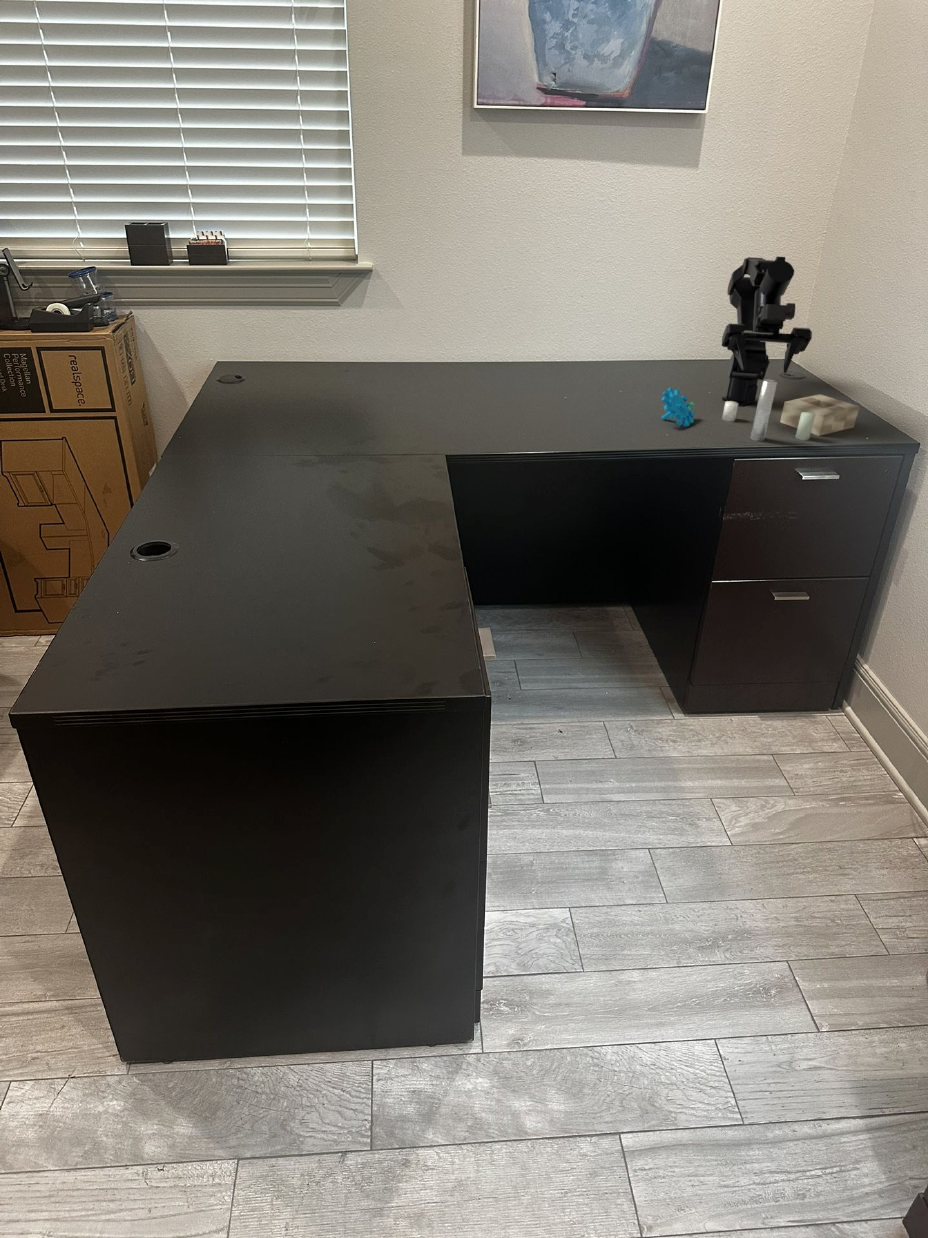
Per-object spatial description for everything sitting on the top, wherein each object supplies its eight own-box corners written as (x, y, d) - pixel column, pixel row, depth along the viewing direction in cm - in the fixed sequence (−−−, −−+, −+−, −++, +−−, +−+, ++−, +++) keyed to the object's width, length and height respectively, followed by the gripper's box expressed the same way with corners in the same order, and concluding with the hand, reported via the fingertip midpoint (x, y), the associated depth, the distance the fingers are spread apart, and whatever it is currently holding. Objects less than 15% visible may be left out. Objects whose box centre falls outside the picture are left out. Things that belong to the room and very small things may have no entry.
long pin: (747, 437, 189) (759, 380, 182) (756, 435, 190) (769, 378, 183) (758, 441, 186) (770, 383, 180) (767, 439, 188) (780, 382, 181)
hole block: (779, 422, 199) (784, 401, 196) (814, 414, 205) (819, 394, 203) (818, 435, 191) (824, 414, 189) (853, 427, 197) (859, 406, 195)
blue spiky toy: (677, 425, 190) (660, 386, 191) (658, 438, 194) (641, 400, 196) (705, 422, 197) (688, 385, 198) (686, 435, 201) (670, 398, 203)
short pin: (719, 418, 200) (722, 402, 198) (728, 416, 202) (731, 400, 200) (729, 422, 198) (732, 405, 196) (737, 420, 200) (741, 403, 197)
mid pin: (792, 436, 190) (798, 413, 187) (801, 434, 192) (807, 411, 189) (803, 440, 188) (809, 417, 185) (812, 438, 189) (818, 415, 187)
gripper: (733, 285, 185) (730, 348, 181) (820, 290, 183) (819, 353, 179) (722, 315, 196) (719, 375, 192) (804, 320, 194) (802, 380, 190)
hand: (764, 370), depth 188 cm, fingers open, 9 cm apart
